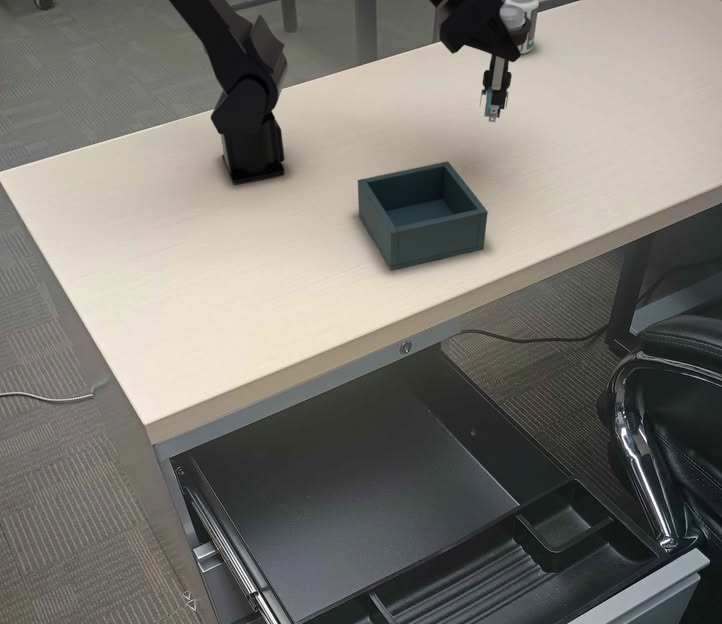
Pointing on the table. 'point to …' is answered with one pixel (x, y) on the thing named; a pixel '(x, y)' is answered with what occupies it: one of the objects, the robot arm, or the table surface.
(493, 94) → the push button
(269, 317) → the table surface
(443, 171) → the bin
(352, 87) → the table surface
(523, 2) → the pill bottle
